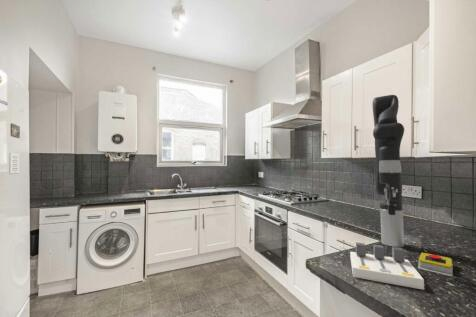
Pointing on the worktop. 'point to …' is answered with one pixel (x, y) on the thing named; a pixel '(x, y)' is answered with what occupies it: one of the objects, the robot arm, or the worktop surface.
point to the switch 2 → (378, 251)
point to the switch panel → (386, 270)
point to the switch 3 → (398, 254)
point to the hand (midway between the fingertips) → (391, 214)
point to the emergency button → (436, 264)
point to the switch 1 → (360, 249)
